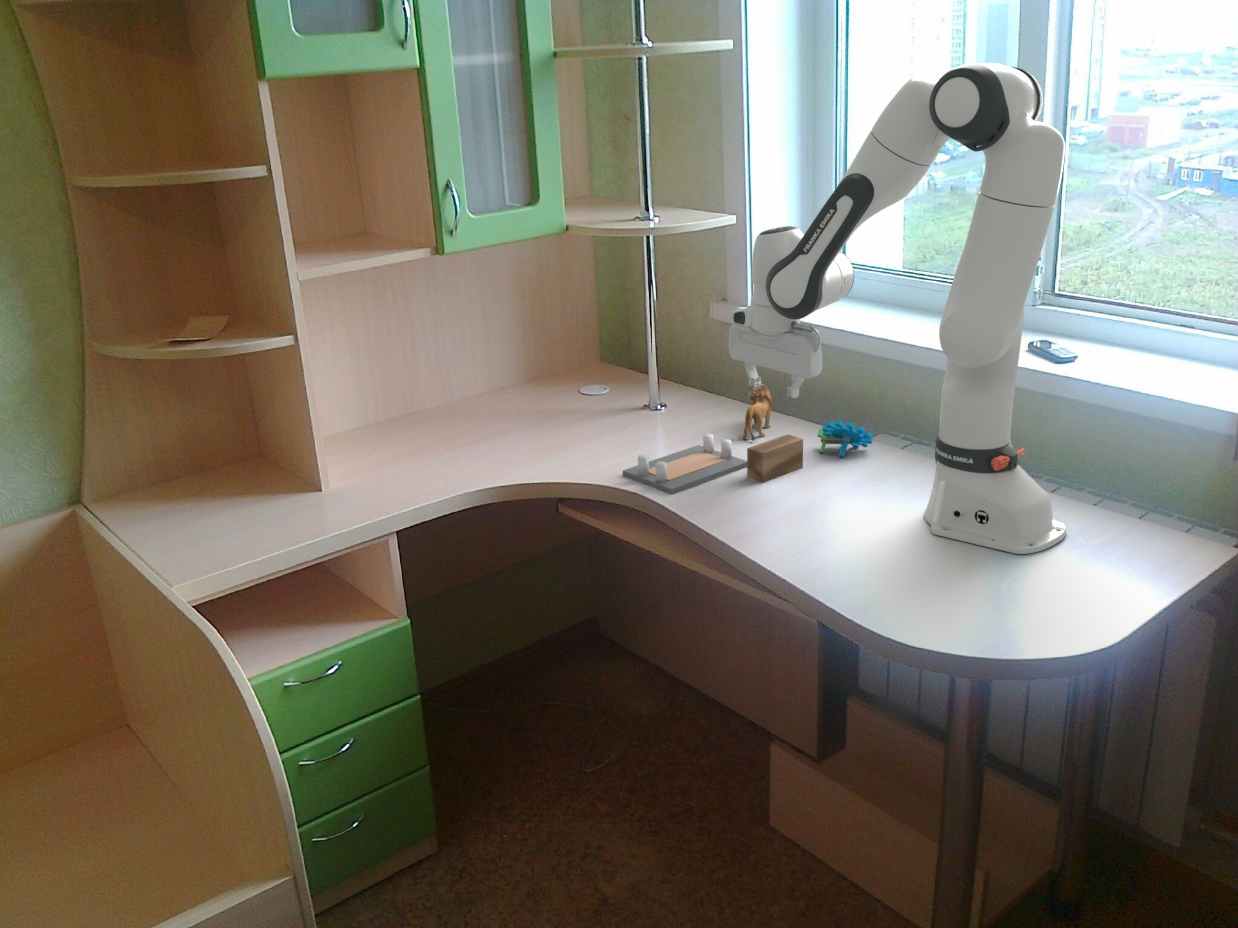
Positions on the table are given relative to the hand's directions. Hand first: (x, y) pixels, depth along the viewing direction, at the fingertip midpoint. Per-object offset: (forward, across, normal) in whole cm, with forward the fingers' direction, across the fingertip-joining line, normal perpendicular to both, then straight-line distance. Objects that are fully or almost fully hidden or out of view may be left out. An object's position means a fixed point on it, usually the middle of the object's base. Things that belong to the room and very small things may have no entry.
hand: (773, 391), depth 202 cm
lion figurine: (+16, +19, -16) cm, 30 cm away
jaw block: (+16, -1, 0) cm, 16 cm away
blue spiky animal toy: (+16, -3, -18) cm, 24 cm away
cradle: (+16, +12, +11) cm, 23 cm away
